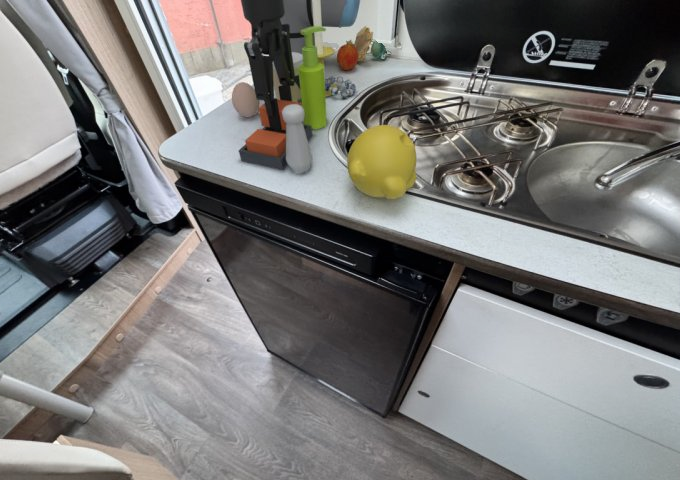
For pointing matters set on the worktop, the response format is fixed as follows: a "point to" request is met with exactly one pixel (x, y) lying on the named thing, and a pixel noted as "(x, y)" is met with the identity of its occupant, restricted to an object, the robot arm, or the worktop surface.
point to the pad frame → (268, 159)
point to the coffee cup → (296, 88)
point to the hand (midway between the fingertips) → (282, 122)
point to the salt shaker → (296, 139)
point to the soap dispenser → (312, 82)
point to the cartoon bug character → (363, 44)
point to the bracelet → (339, 81)
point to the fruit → (347, 56)
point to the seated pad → (267, 142)
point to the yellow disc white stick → (321, 50)
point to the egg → (245, 99)
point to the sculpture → (382, 162)
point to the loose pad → (281, 106)
